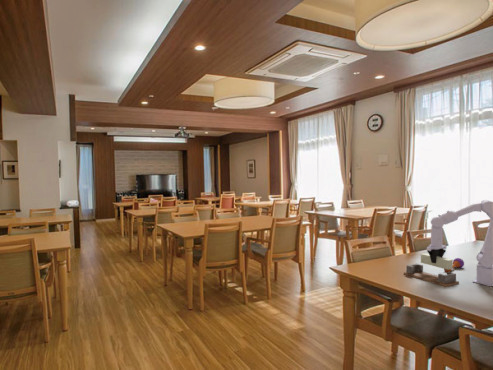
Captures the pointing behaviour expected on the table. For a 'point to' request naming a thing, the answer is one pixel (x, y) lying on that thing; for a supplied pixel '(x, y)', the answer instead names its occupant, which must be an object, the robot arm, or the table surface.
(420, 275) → the cradle
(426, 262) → the slat
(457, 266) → the brown piece
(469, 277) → the table surface
